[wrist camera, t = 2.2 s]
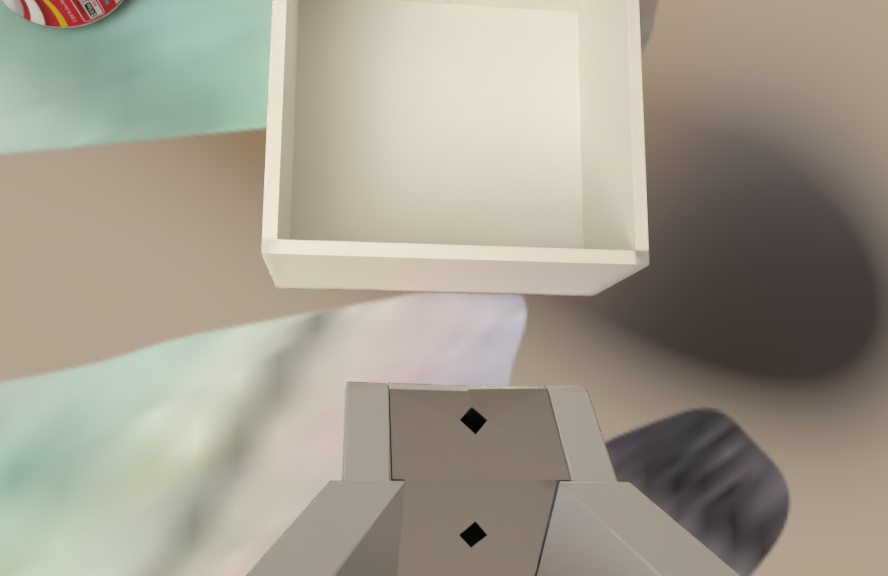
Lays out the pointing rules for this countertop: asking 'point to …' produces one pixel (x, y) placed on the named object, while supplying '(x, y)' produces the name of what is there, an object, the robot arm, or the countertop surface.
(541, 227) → the box
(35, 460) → the countertop surface
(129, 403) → the countertop surface
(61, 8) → the soda can
